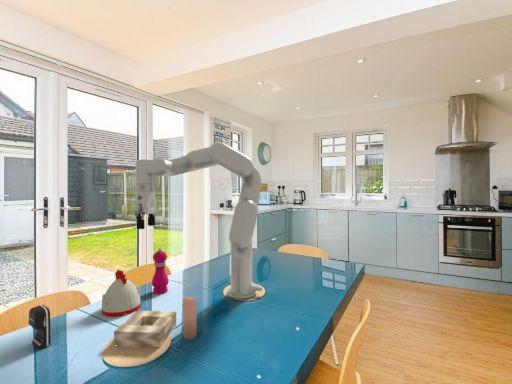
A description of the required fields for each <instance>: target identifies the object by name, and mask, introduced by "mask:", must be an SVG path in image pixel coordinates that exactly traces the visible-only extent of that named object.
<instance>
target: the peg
mask: <svg viewBox="0 0 512 384" xmlns="http://www.w3.org/2000/svg"><path fill="white" fill-rule="evenodd" d="M182 309H183V310H182V311H183V312H182V317H183V323H182V324H183V327H182V328H183V339H185V340H193V339H195V338H196V337H197V297H196V296H186V297H184V298H183V299H182Z"/></svg>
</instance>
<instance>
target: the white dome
mask: <svg viewBox="0 0 512 384" xmlns="http://www.w3.org/2000/svg"><path fill="white" fill-rule="evenodd" d="M114 274H115V280H114V281H113V282H112V283H111V284H110V285H109V286H108V288H107V290H106V291H105V294H102V297H101V298H102V299H101V314H102V316H104V317H108V318H109V317H110V318H117V317H123V316H128V315H130V314H134V313H135V312H136V311H139V309H141V306H142V304H141V297H140V289H139V288H137V287H136V285H135V284H134V283H133V282H132V281H131V280H129V279H128V278H126V274H124V270H120V269H117V270H116V272H114Z"/></svg>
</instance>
